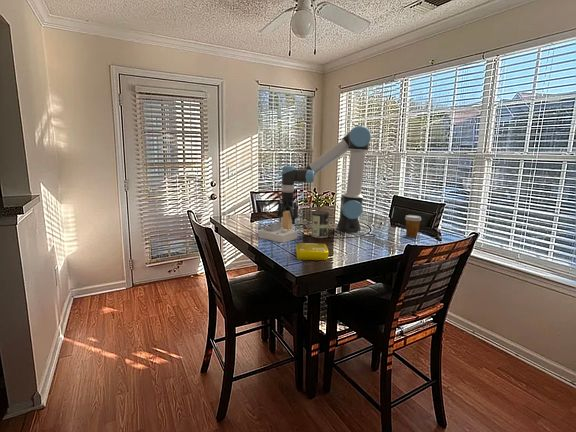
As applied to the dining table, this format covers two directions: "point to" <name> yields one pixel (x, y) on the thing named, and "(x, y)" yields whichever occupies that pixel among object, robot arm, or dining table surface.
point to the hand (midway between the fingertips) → (287, 228)
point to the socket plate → (279, 235)
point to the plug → (286, 219)
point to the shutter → (273, 227)
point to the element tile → (311, 251)
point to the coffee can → (320, 224)
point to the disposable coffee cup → (412, 225)
